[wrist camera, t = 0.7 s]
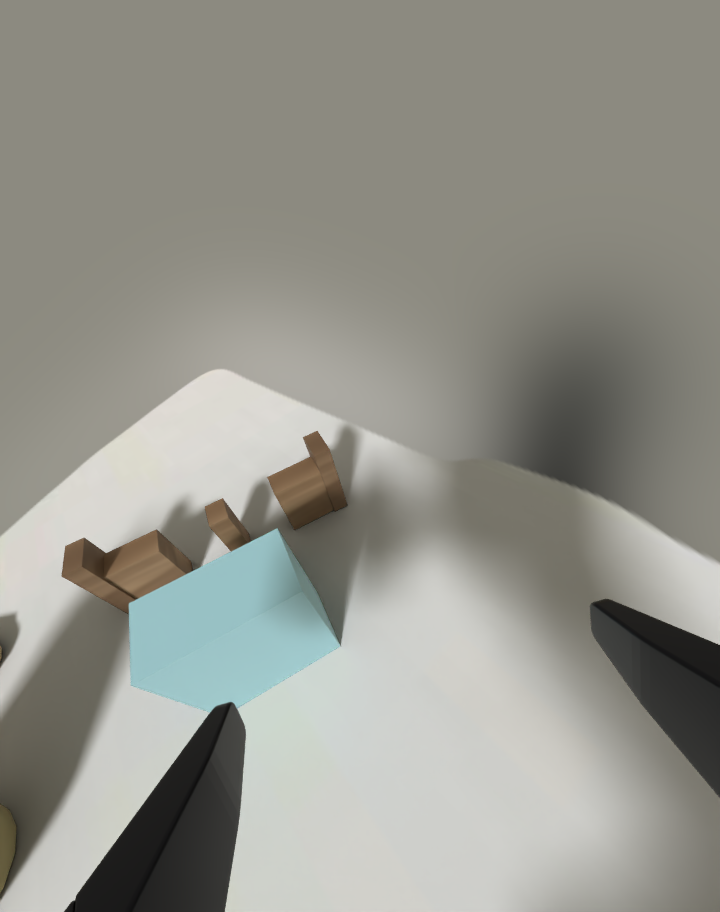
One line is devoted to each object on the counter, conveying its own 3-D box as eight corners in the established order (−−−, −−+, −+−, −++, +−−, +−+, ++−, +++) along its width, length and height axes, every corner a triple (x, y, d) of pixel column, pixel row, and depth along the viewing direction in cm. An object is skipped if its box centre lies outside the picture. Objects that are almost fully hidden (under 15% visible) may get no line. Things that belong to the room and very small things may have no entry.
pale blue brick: (340, 646, 23) (302, 590, 17) (222, 716, 22) (130, 685, 15) (299, 550, 29) (258, 480, 22) (202, 601, 27) (126, 542, 21)
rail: (347, 505, 31) (329, 449, 26) (131, 615, 27) (61, 576, 22) (336, 486, 33) (317, 430, 27) (131, 589, 29) (65, 546, 24)
